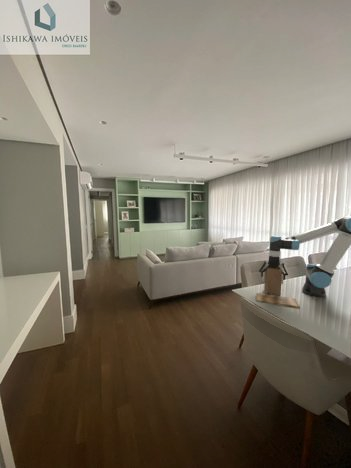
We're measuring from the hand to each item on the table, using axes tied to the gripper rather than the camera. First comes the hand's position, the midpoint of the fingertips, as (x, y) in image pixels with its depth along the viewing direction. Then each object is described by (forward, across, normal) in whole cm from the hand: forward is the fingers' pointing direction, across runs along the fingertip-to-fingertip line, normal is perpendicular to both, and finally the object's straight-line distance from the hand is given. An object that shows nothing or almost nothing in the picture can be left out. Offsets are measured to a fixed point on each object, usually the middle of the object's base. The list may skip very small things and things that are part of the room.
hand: (272, 282), depth 152 cm
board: (+8, -2, +16) cm, 18 cm away
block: (+8, 0, 0) cm, 8 cm away
